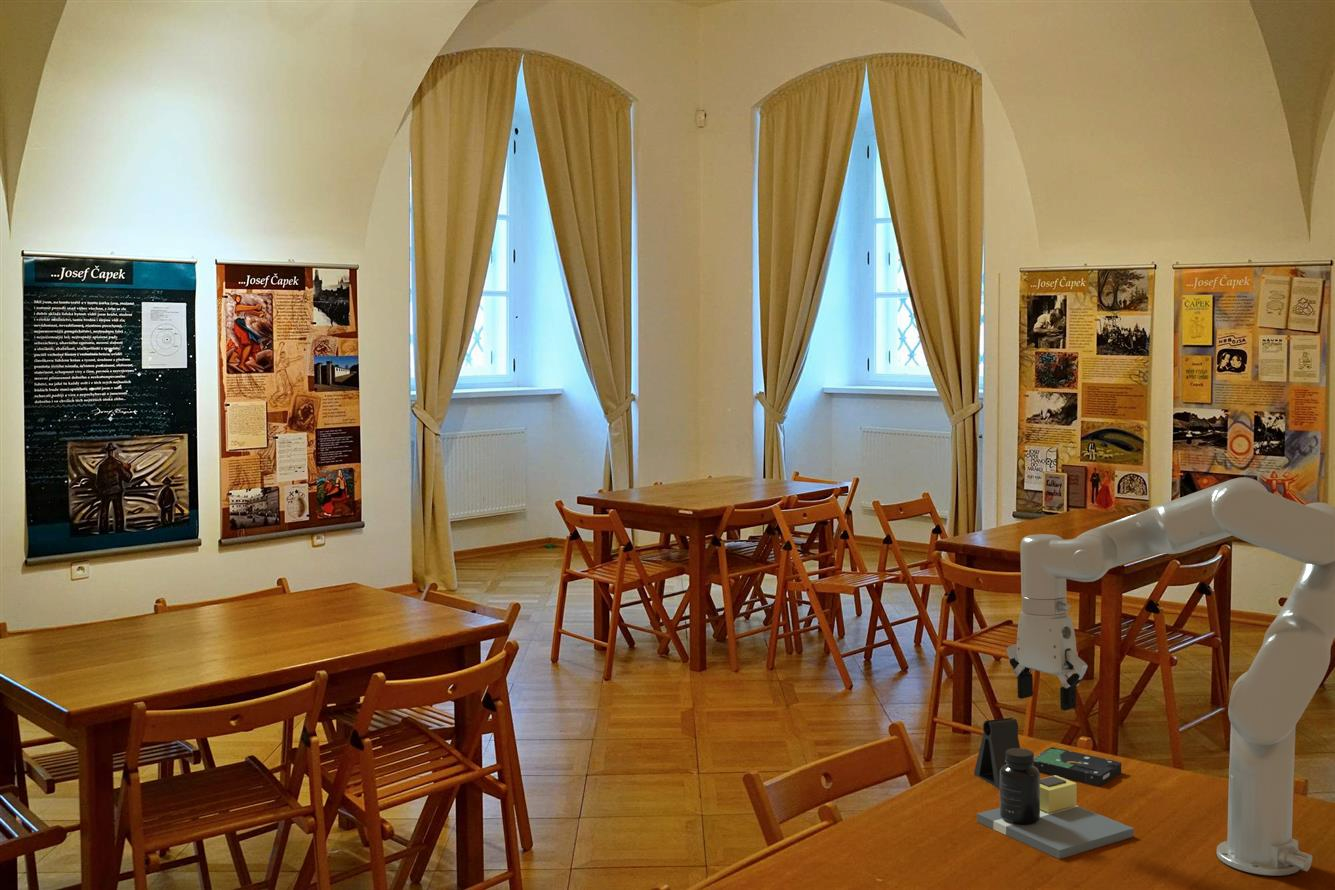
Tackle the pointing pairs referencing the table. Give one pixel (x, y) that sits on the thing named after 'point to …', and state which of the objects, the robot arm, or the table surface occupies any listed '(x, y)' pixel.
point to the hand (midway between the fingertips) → (1046, 703)
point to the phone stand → (996, 748)
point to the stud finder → (1057, 793)
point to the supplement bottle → (1019, 788)
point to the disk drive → (1077, 766)
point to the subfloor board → (1061, 830)
